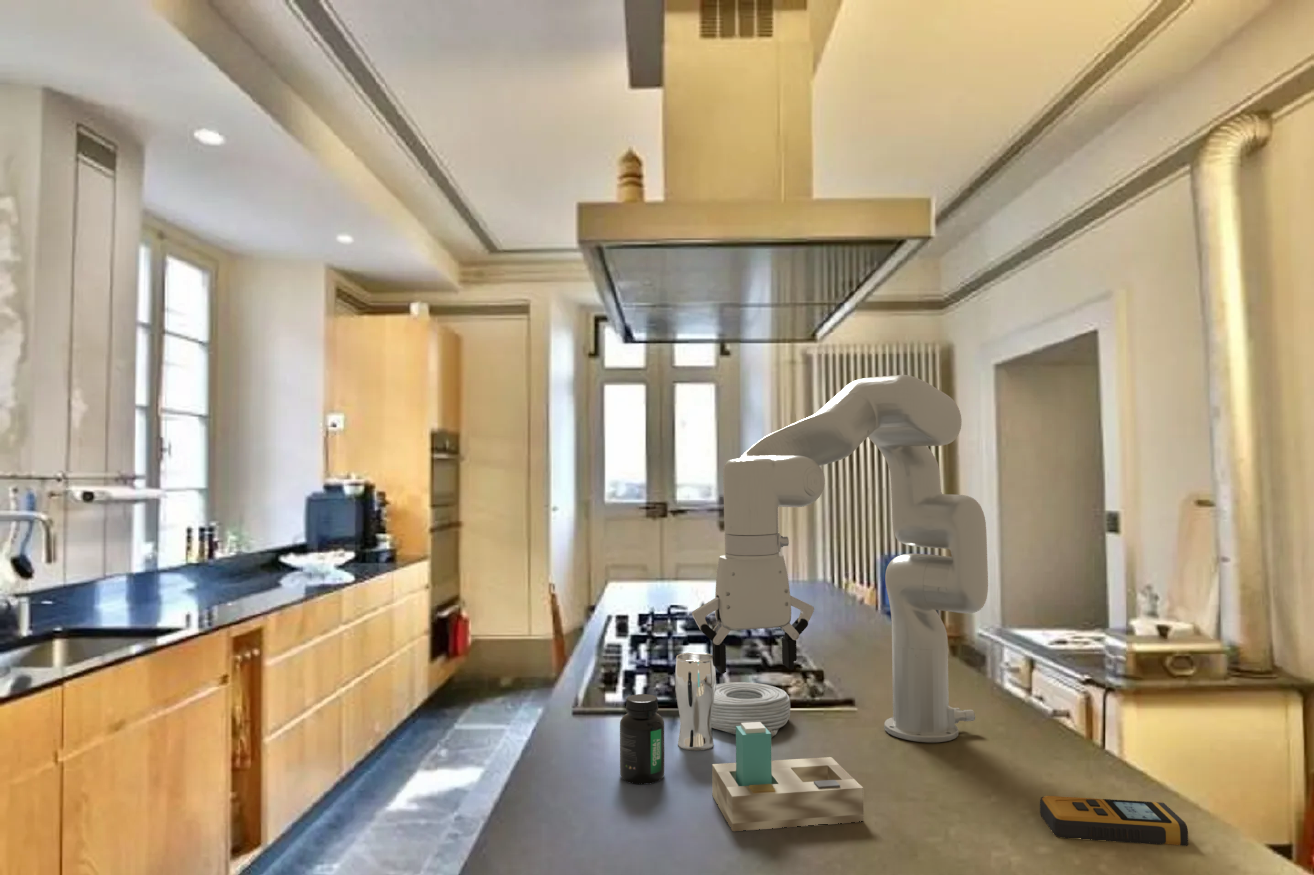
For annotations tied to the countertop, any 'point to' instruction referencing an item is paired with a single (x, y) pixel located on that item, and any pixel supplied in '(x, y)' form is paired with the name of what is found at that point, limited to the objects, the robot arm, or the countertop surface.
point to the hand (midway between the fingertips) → (754, 668)
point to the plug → (753, 754)
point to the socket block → (789, 795)
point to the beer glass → (695, 699)
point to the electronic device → (1113, 820)
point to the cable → (749, 706)
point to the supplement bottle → (642, 741)
